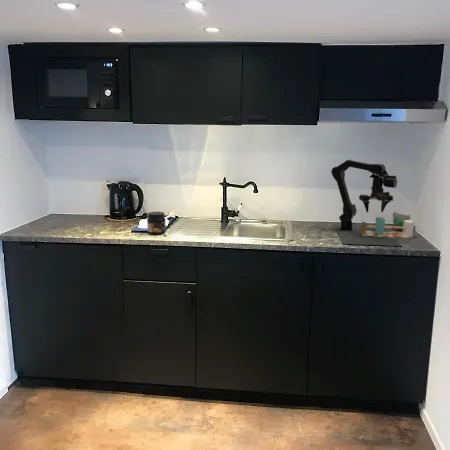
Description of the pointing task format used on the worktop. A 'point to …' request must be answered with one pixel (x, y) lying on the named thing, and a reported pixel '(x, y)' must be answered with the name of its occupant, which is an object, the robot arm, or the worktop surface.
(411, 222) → the connector block
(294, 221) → the worktop surface
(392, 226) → the fibre cord
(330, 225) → the worktop surface
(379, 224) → the sleeve
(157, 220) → the supplement container
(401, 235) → the comb board
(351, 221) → the robot arm
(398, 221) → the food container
